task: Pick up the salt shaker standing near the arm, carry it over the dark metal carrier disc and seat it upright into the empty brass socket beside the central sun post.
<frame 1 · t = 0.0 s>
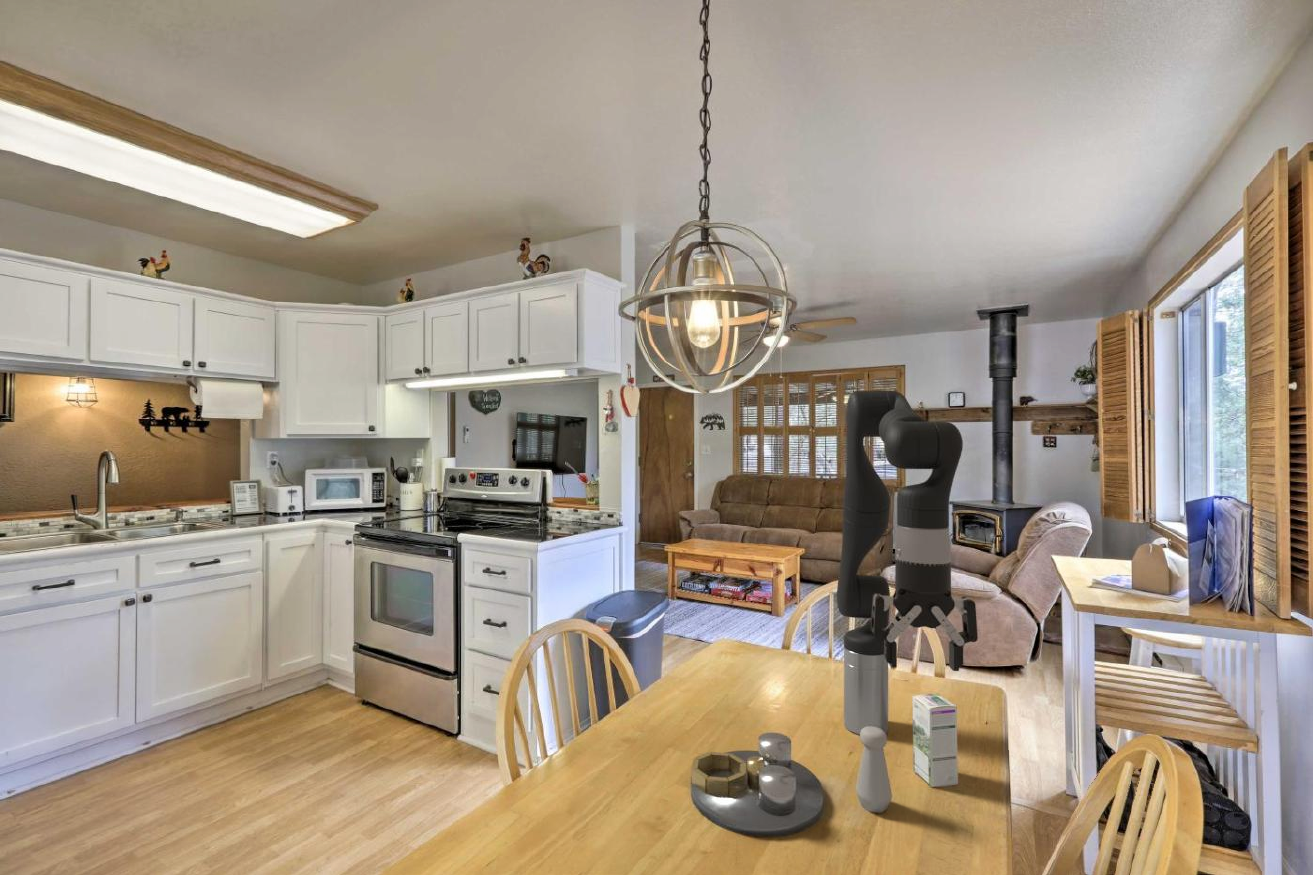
hand: (922, 667, 88), 29 cm above the table, fingers open, 8 cm apart
syrup box: (934, 779, 112), on the table
carrier: (755, 794, 107), on the table
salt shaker: (873, 807, 103), on the table
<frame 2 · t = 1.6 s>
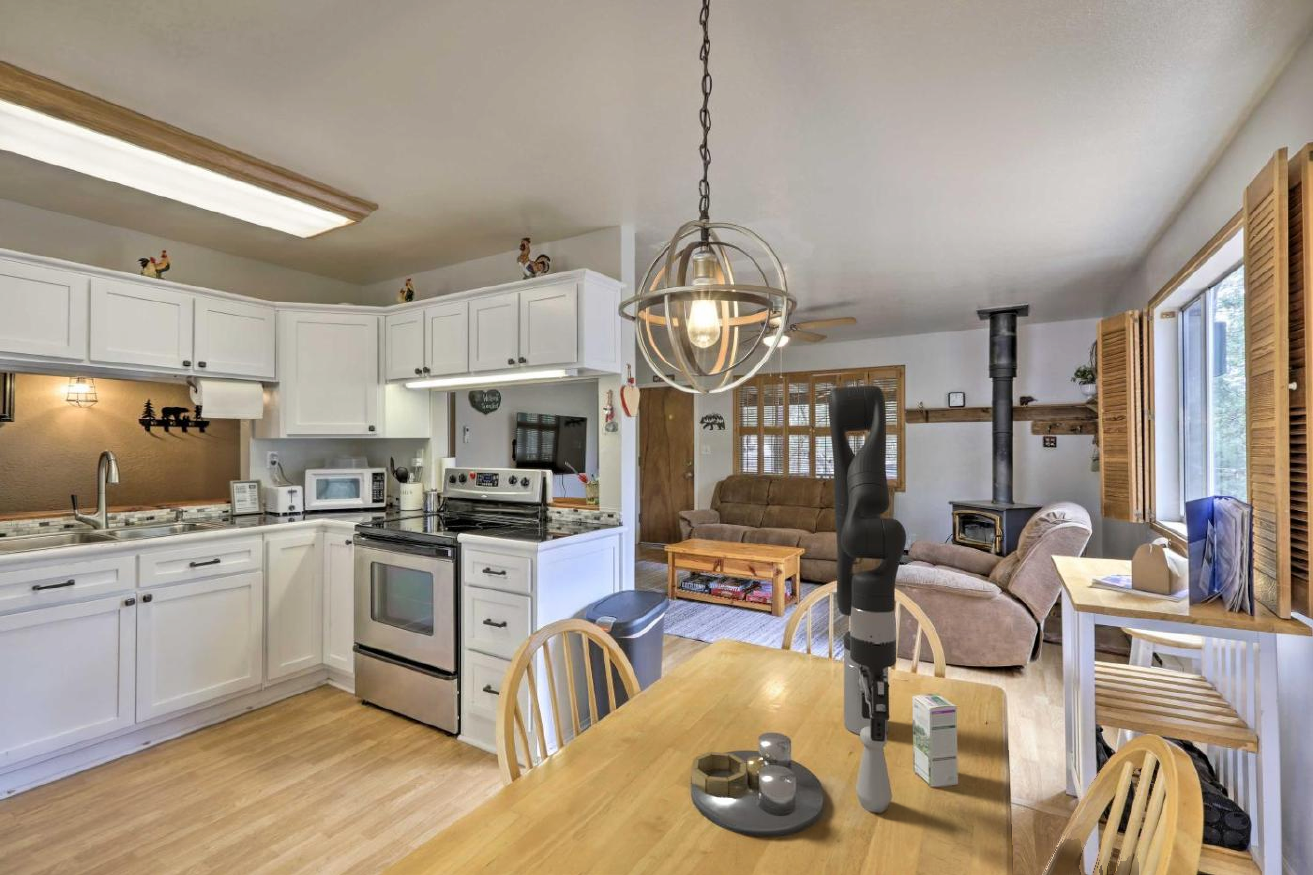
hand: (872, 728, 103), 13 cm above the table, fingers open, 8 cm apart
nothing on the table moved.
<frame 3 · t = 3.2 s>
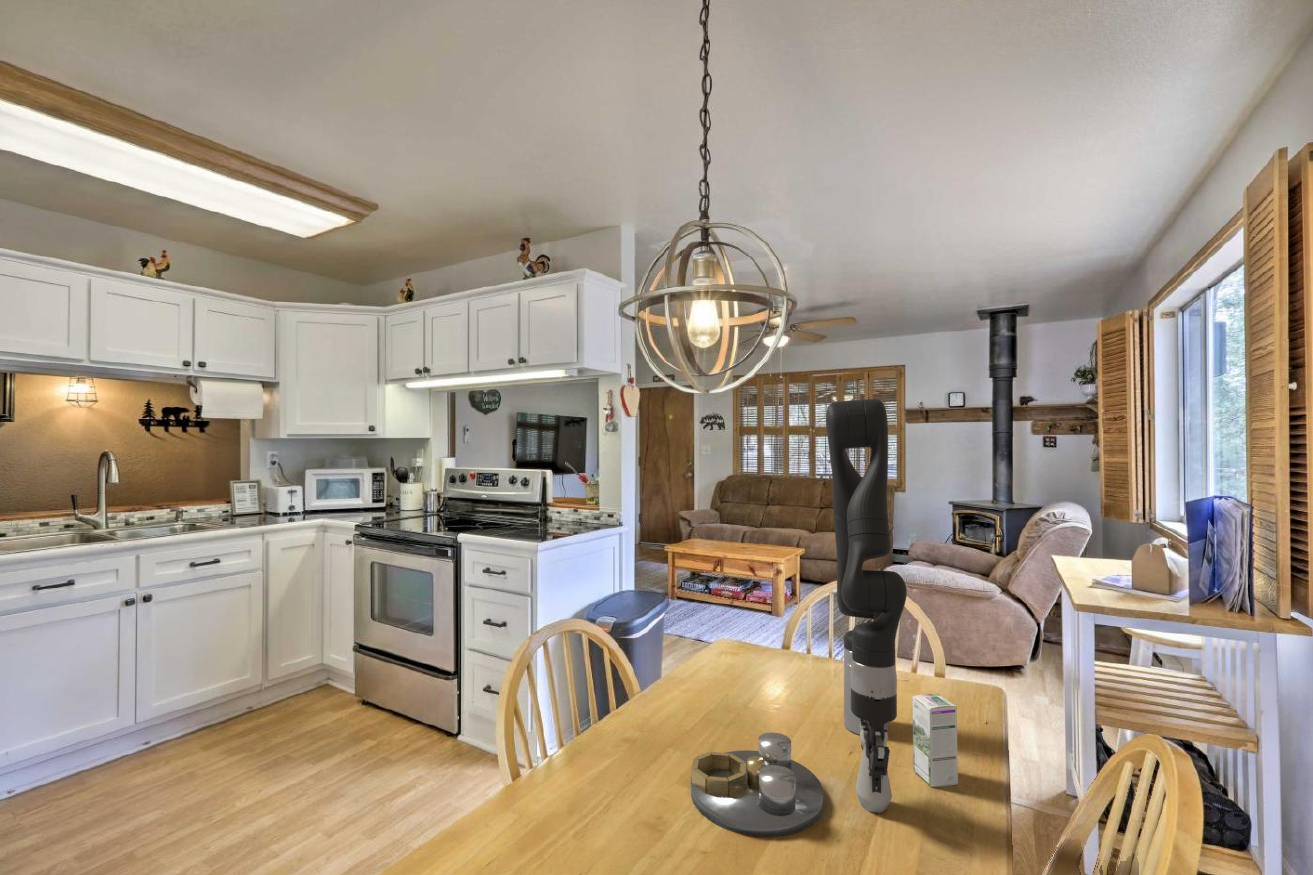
hand: (873, 787, 103), 3 cm above the table, fingers closed on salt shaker, 3 cm apart
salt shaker: (873, 807, 103), on the table, touching gripper
everything else where it was.
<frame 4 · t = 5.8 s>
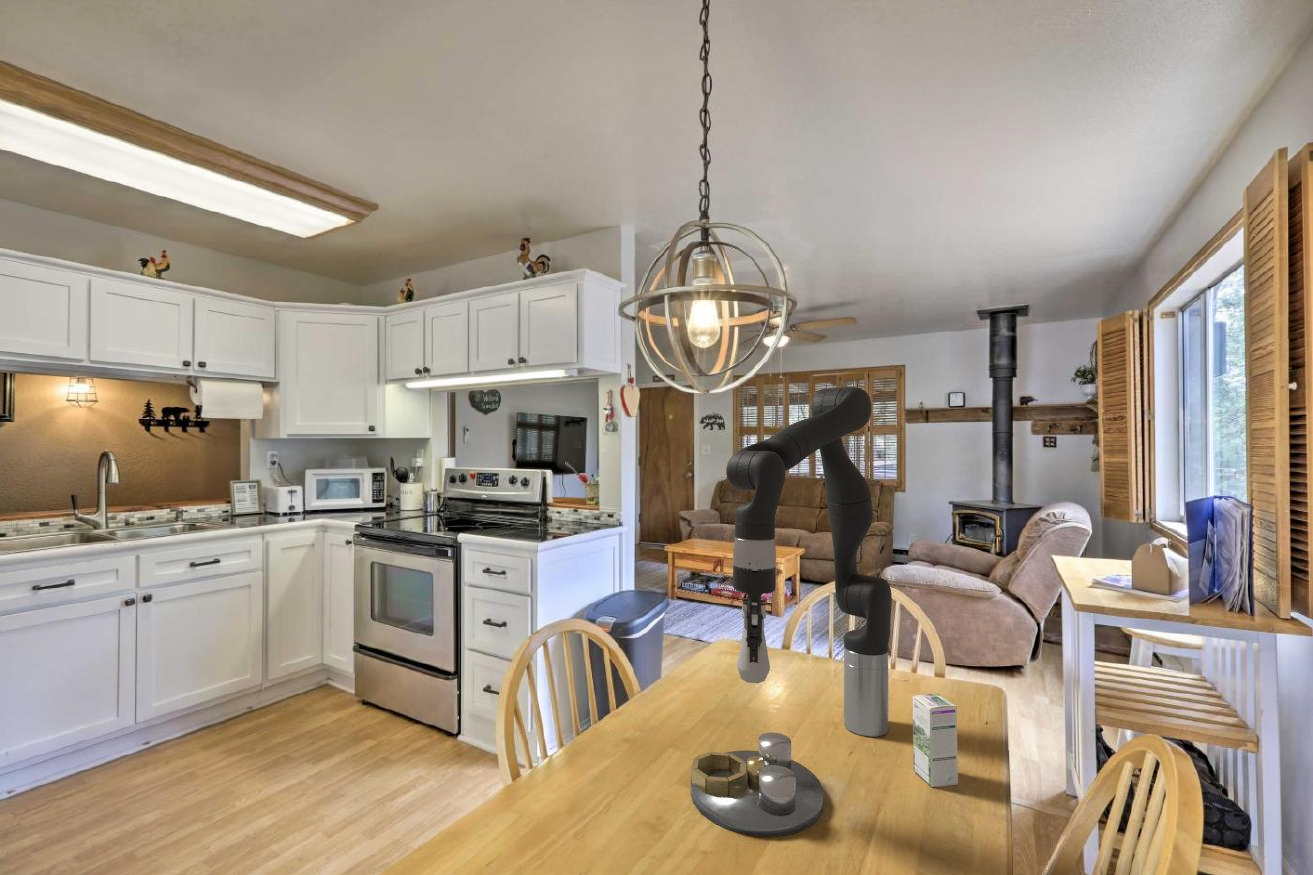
hand: (753, 660, 106), 24 cm above the table, fingers closed on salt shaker, 3 cm apart
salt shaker: (753, 680, 106), point 20 cm above the table, touching gripper
everything else where it was.
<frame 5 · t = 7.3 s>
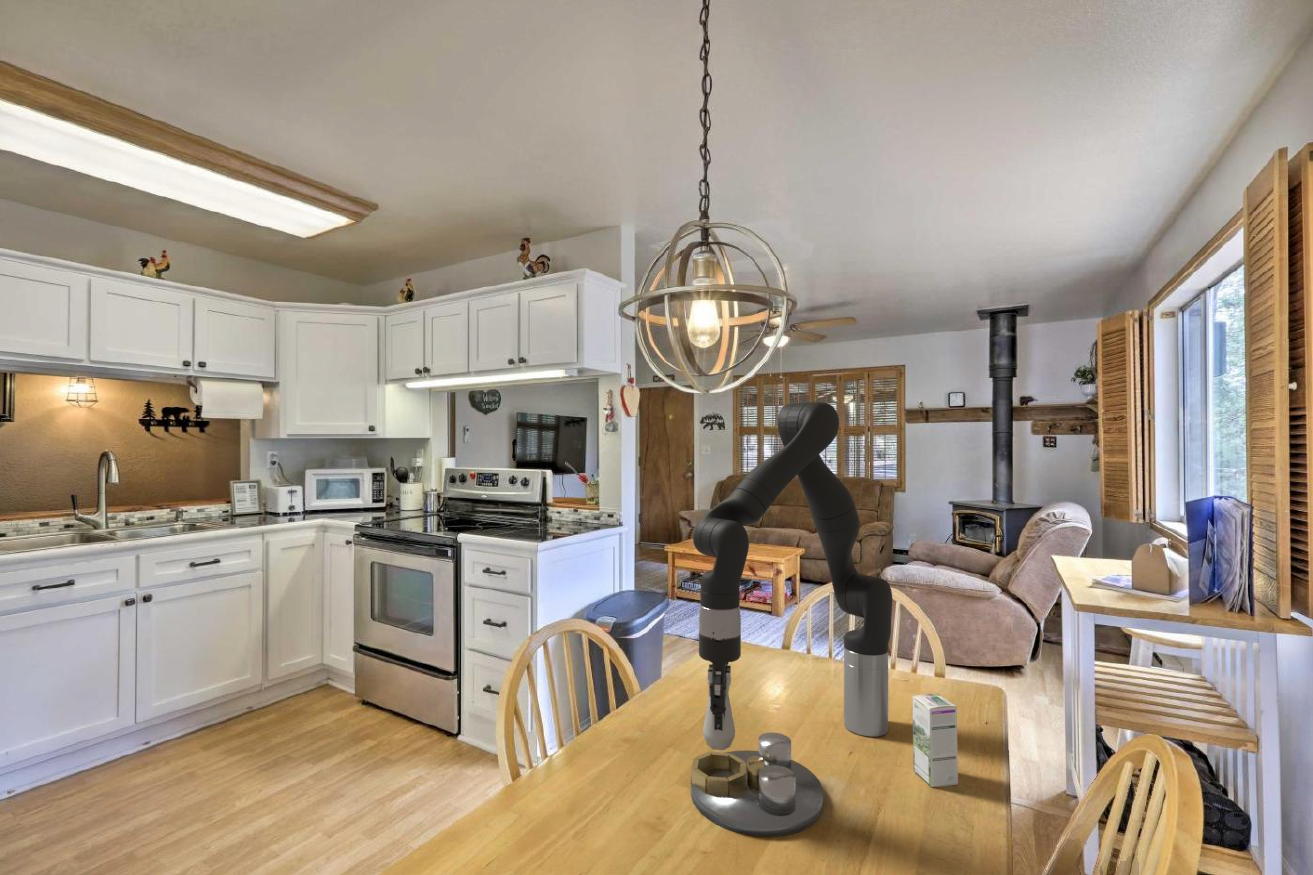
hand: (719, 726, 108), 11 cm above the table, fingers closed on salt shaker, 3 cm apart
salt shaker: (718, 745, 108), point 8 cm above the table, touching gripper
everything else where it was.
when the fingers open (6 cm above the table, at t = 8.5 s): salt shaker stays where it is, resting on carrier.
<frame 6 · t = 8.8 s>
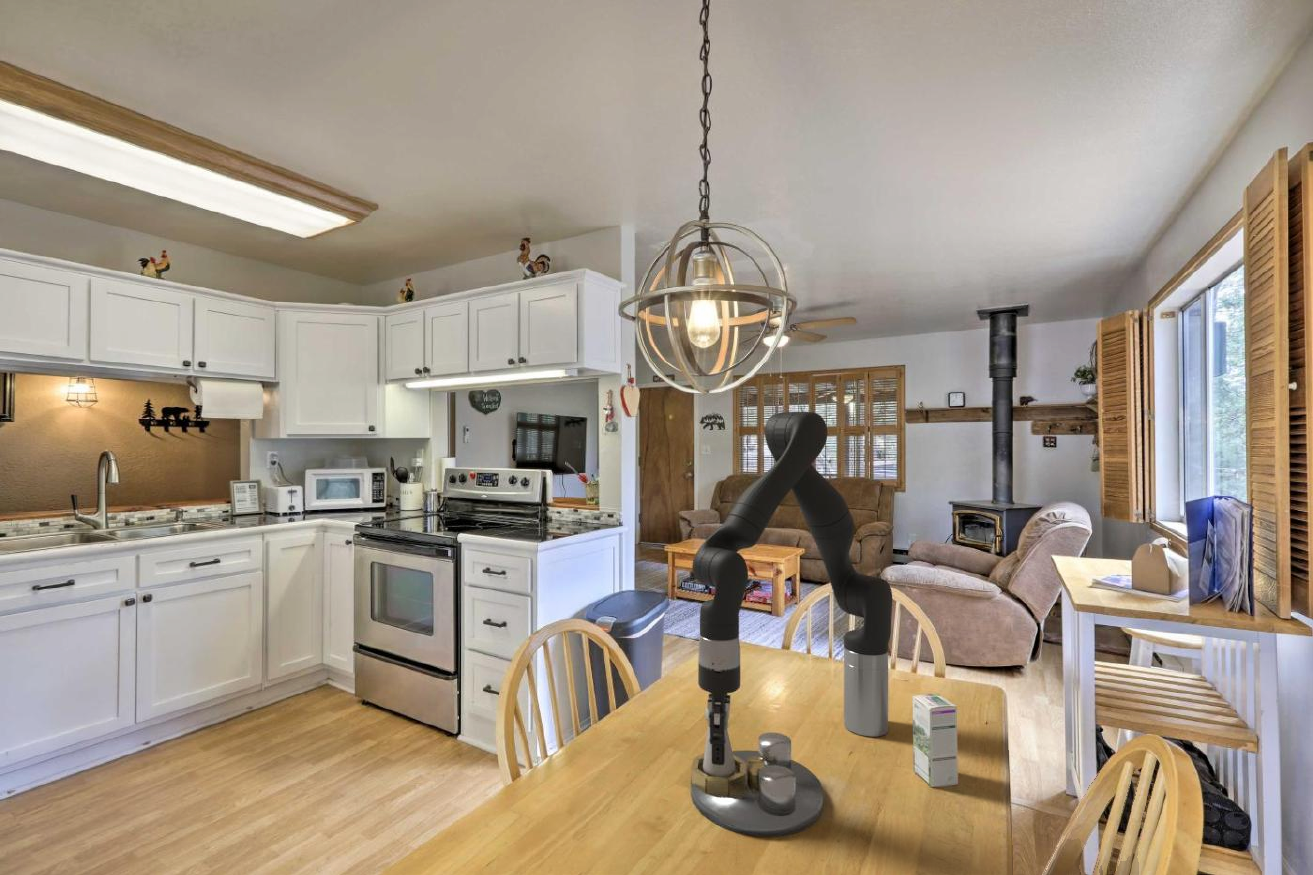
hand: (719, 755, 108), 6 cm above the table, fingers open, 5 cm apart
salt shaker: (719, 780, 108), point 2 cm above the table, touching carrier
everything else where it was.
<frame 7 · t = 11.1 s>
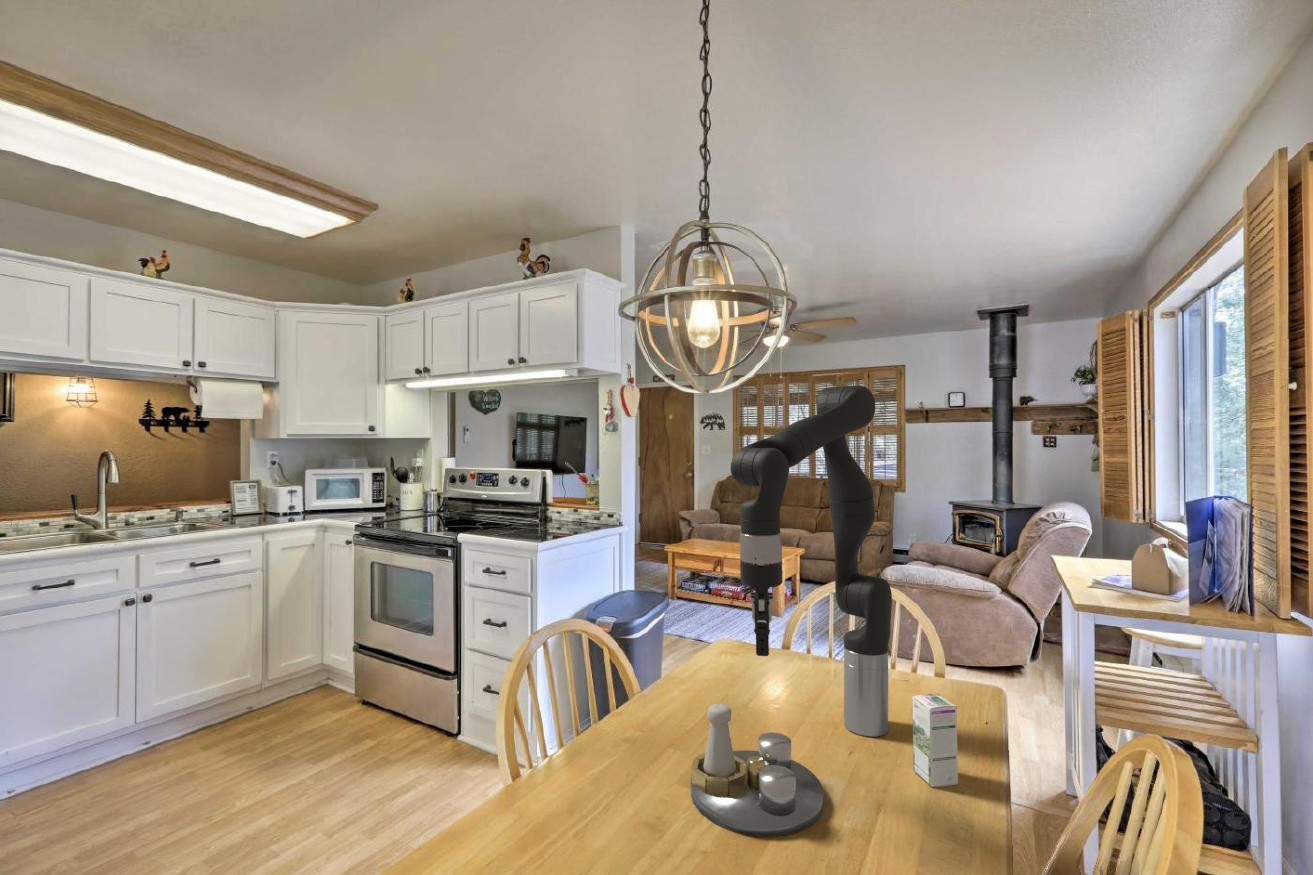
hand: (762, 646, 109), 25 cm above the table, fingers open, 8 cm apart
nothing on the table moved.
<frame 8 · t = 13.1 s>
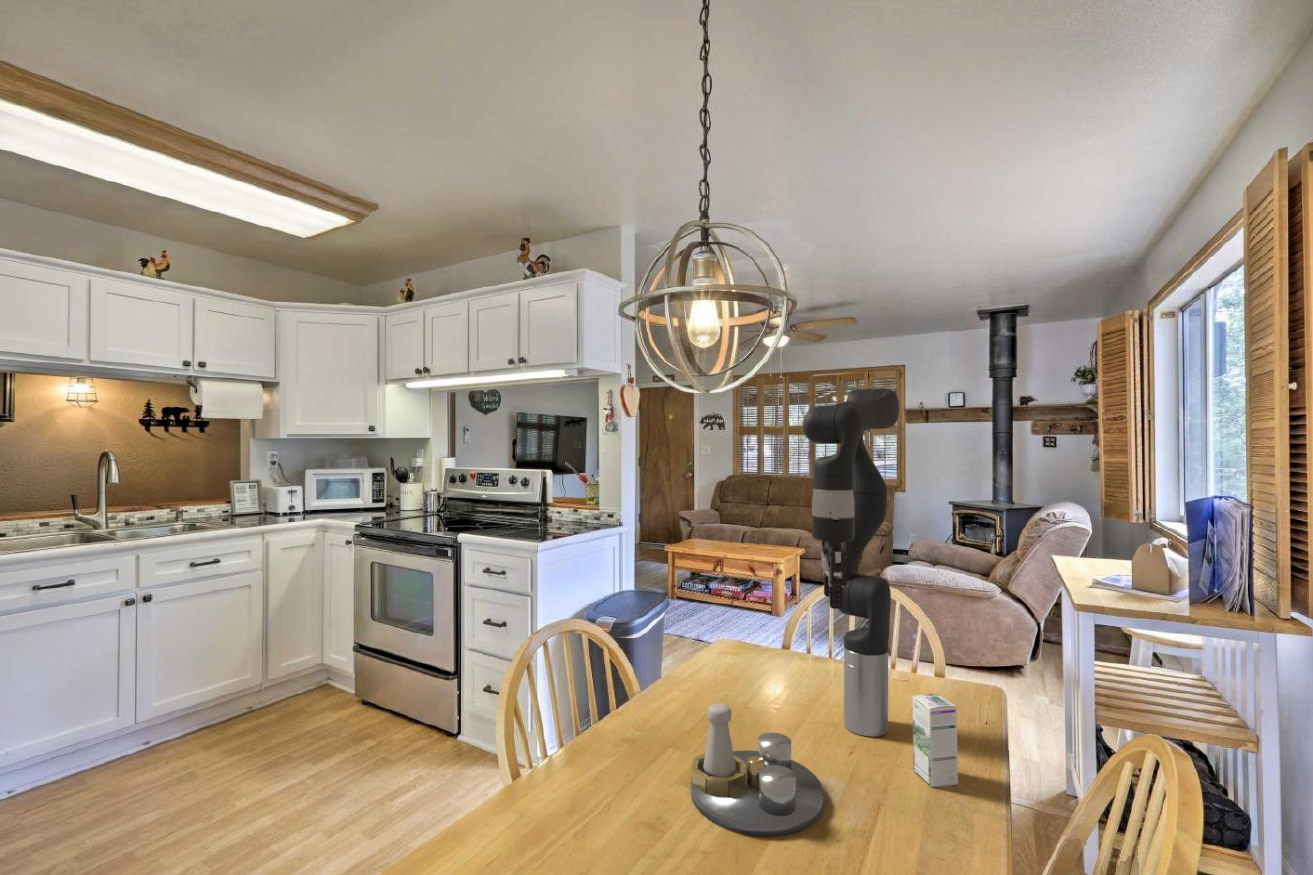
hand: (833, 602, 111), 33 cm above the table, fingers open, 8 cm apart
nothing on the table moved.
at the end: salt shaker 0.1 cm from the target spot on the carrier, point 1.8 cm above the carrier's base; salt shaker tilted 0°; the gripper is holding nothing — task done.
